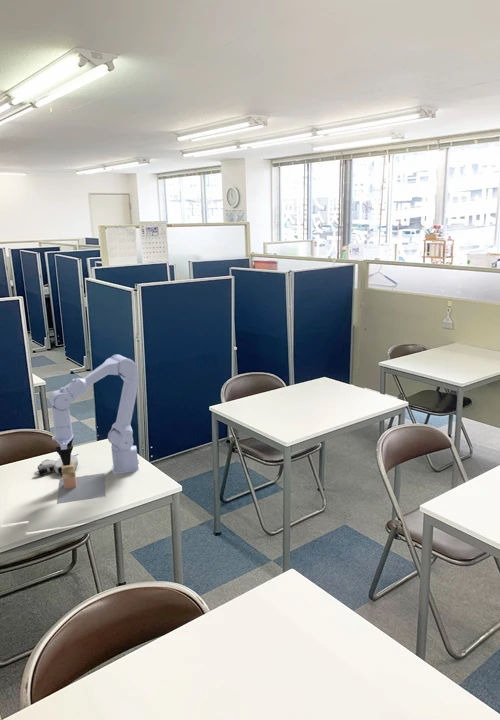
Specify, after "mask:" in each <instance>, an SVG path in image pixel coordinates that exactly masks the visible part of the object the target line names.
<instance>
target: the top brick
mask: <svg viewBox="0 0 500 720" xmlns="http://www.w3.org/2000/svg"><path fill="white" fill-rule="evenodd" d="M75 474H76V468H75V467H74V462H70V465H66V466H64V465H63V463H62V479H64V478H71V477H75Z"/></svg>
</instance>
